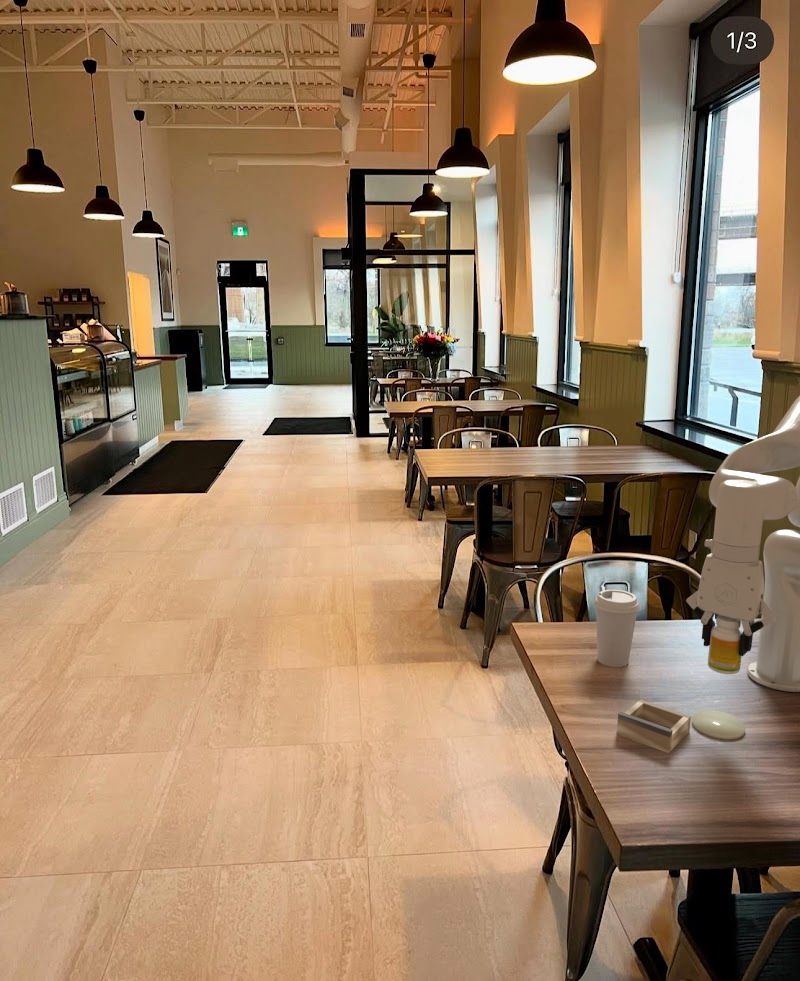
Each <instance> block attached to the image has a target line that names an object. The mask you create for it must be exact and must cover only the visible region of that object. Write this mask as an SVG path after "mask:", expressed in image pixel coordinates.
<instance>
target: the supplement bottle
mask: <svg viewBox="0 0 800 981" xmlns="http://www.w3.org/2000/svg"><path fill="white" fill-rule="evenodd" d="M741 625H742V622H741V620H738V619H734V618H730V617H726V616H722V615H718V614H716V620H715V626H714V627H713V628H712V629H711V635H710V645H709V646H708V648H709V649H708V658H707V666H708V669H710V670H712V671H713V672H716V673H719V674H723V675H735V674H737V673H738V674H739V672H740V670H741V663H742V656H740V655H739V654H738V653H739V644H740V635H741V634H742V633H743V630H742V629H740V628H741Z"/></svg>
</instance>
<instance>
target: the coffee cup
mask: <svg viewBox="0 0 800 981" xmlns="http://www.w3.org/2000/svg"><path fill="white" fill-rule="evenodd" d="M593 606H595V613H596V614H595V615H596V616H595V620H596V647H597V648H596V649H597V661H598V662H599V663H600V664H602V665H604V666H606V667H611V668H624V667H626V666H628V665H629V662H630V656H631V650H632V644H633V643H632V642H633V638H634V632H635V626H636V625H635V624H636V619H637V614H638V611H639V610H640V609H641V606H640V603H639V600H638V599H637V596H636V595H635V594H634V593H632V592H629V591H626V590H621V589H620V590H619V589H606V590H605V589H604V590H601V591H599V592H598V594H597V596H596V597H595V599H594V601H593ZM627 664H628V665H627ZM623 666H624V667H623Z"/></svg>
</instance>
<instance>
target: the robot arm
mask: <svg viewBox="0 0 800 981" xmlns="http://www.w3.org/2000/svg"><path fill="white" fill-rule="evenodd" d="M795 468H800V395H799V396H798V397H797V398H796V399H795V400H794V401H793V403H792V404H791V406H790V407H789V409H788V410H787V411H786V412H785V414H784V416H783V417H782V419H781V420H780V422H779V423H778V424H777V426H776V428H774V430H773V431H772V433H769V434H767V435H764V436H761V437H759V438H757V439H754V440H752V441H750V442H747V443H745V444H743V445H741V446H739V447H737V448H736V449H734V450H733V451H731V452H730V453H729V454H728V455H727V456H726V457H725V459H724V460H723V462H722V463H721V464H720V465H719V467H718V468H717V470H716V472H715V474H714V475H713V477H712V479H711V481H710V483H709V488H708V497H709V498H708V499H709V501H710V503H711V504H712V505H713V507H715V517H714V527H713V528H714V529H713V530H714V531H713V538H712V539H705V541H704V544H703V545H704V547H705V548H708V549H710V553H709V554H707V555H706V557H705V558H704V559H705V560H704V563H703V566H702V570H701V576H700V580H699V584H698V588H697V589H698V590H696V591H695V592H694V593H692V594H691V595H690V596H689V597H687V598H686V600H685V601H686V603H687V604H688V605H689V606H690V608H691V609H693V611H694V613H695V615H696V616H697V618H699V620H700V623H701V624H702V630H701V631H702V632H701V639H702V640H703V647H709V645H710V635H711V629H712V628H713V627H714V626H716V620H714V617H715V615H722V616H726V617H730V618H734V619H738V620H741V625H742V629H743V630H742V632H743V633H742V634H741V635H740V644H739V653H738V654H739V655H740V656H741V657H744V656H745V655H746V654H747V653H748V652H751V650H752V647H753V646H752V645H753V636H754V633H757V631H759V638H758V648H757V656H756V661H754V662H752V663H749V665H748V666H747V670H746V671H747V675H748V676H749V677H750V679H751V680H752V681H755V683H757V684H759V685H762V686H764V687H766V688H769V689H773V690H777V691H783V692H788V693H789V692H792V693H799V692H800V530H796V529H777V530H776V531H774V532H772V533H769V535H768V536H767V538H766V540H765V542H764V544H763V552H762V553H763V562H762V560H760V554H761V553H760V552H761V541H762V540H761V539H762V532H763V525H764V524H763V522H764V521H774V520H780V519H783V518H785V517H788V520H789V522H790V524H792V525H793V526H795V527H798V528H800V475H799V477H798V480H797V483H795V484H796V485H794V483H792V481H790V480H788V479H787V478H783V477H779V476H774V475H768V474H767V475H766V474H764V473H771V472H778V471H785V470H791V469H795ZM763 565H764V566H763ZM759 615H761V618H760V619H759V620H757V621H755V619H756V618H757V617H758V616H759Z"/></svg>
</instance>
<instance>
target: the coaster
mask: <svg viewBox="0 0 800 981" xmlns="http://www.w3.org/2000/svg"><path fill="white" fill-rule="evenodd" d="M691 724H692V726H693V728H694V729H695V730H696V731H699V733H701V734H703V735H706V736H708V737H711V738H714V739H720V740H735V739H736V740H737V739H739V738H741V737H743V736H744V735H745V733H746V725H745V723H744V722H743V721H742V720H741V719H740V718H739V717H737V716H735V715H734V714H731V713H727V712H725V711H721V710H714V709H704V710H700V711H696V712H695V713H693V715H692V716H691Z"/></svg>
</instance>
